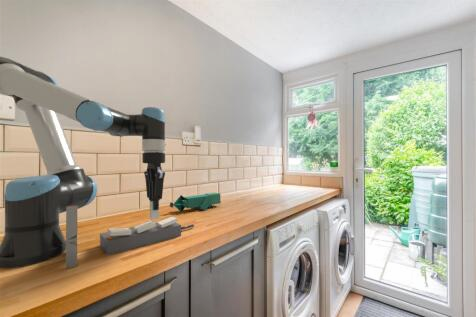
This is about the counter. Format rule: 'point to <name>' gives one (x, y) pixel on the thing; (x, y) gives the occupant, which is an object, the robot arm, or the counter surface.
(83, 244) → the counter surface
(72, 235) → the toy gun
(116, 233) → the rocker left
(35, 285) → the counter surface
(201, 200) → the toy
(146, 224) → the rocker mid
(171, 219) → the rocker right
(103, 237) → the strip
